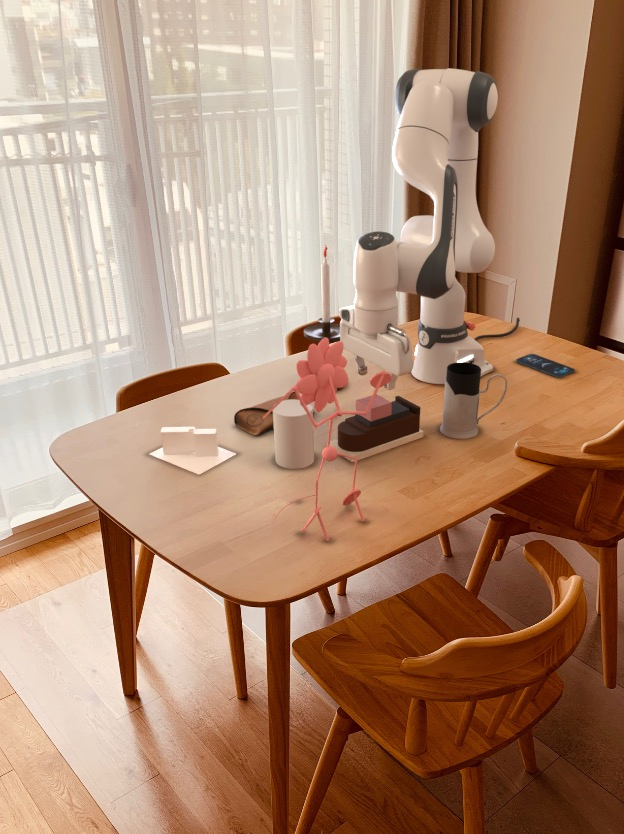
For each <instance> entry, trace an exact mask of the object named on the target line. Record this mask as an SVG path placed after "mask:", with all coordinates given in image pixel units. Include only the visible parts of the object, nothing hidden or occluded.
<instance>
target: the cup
mask: <svg viewBox="0 0 624 834" xmlns="http://www.w3.org/2000/svg"><path fill="white" fill-rule="evenodd" d="M306 406H307V408H308V410H309V412H310V414H311V415H312V417H313V418H314V413H313V412H314V406H313V404H312V403H310V404H308V405H306ZM273 424H274V429H273V440H274V456H275V463H276V464H277V465H278V466H279V467H281V468H284V469H289V470H299V469H304V468H307V467H309V466H311V465H313V463H314V461H315V443H314V442H315V441H314V440H315V437H314V426H313V424H312V422H311V420H310V419H309V417H308V415H307V413H306V411H305V410H304V408H303V406H301V404H300V401H299V400H295V399H292V400H284V401H282V402H281V403H280V404H278V405H277V406H276V407H275V408H274V409H273Z"/></svg>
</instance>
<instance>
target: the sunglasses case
mask: <svg viewBox="0 0 624 834" xmlns="http://www.w3.org/2000/svg"><path fill="white" fill-rule="evenodd" d="M283 396H284V395H281V396H279V397H276V398H272V399H269V400H266V401H264V402H261V403H258V404H255V405H253V406H250V407H244V408H242V409H239V410H238V411H236V412H235V413H234V415H233V421H234V424H235V426H236V428H238V429H240V430H241V431H243V432H244V433H247V434H250V435H252V436H259V435H261V434H263V433H266V432H268V431H270V430H274V424H273V410H272V411H271V412H270V413H269V414H268V415H267V416H266V417H265V418H264V419H263V416H264V415H265V414H266V413H267V412H268V411H269V410H270V409H271V408H272V407H273V406H274V405H275V404H276V403H277V402H278V401H279V400H280V399H281V398H282V397H283ZM292 399H295V400H299V399H298V397H297V395H296V393H295V392H294V391H292V392H291V393H290V394H289V395H288V396H287V397H286V398H285V399H284V400H292ZM284 400H283V401H284ZM313 414H316V411H313Z"/></svg>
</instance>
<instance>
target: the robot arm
mask: <svg viewBox="0 0 624 834" xmlns="http://www.w3.org/2000/svg"><path fill="white" fill-rule="evenodd" d="M498 99H499V96H498V87H497V82H496V80H495V79H494V77H493V76H492V75H491V74H489V73H486V72H483V71H479V70H477V71H471V70H465V69H459V68H449V67H447V68H433V69H431V68H430V69H421V68H414V69H413V68H412V69H408V70H406V71H405V72H403V74H402V75H401V76H400V77H399V78H398V80H397V83H396V86H395V90H394V107H395V110H396V113H397V115H398V117H399V119H398V121H397V126H396V130H395V135H394V138H393V144H392V152H391V158H392V163H393V166H394V168H395V170H396V172H397V173H398V174H399V176H400V177H401V178H402V179H403V181H405V182H407V183H408V184H409V185H410V186H412V187H414V188H416V189H417V190H419V191H421V192H423V193H425V194H426V195H427V196H429V197H430V199H431V200H432V201H433V205H434V209H433V215H427V214H425V215H413V216H412V217H410V218H408V220H407V221H406V222H405V223H404V224H403V227H402V229H401V232H400V241H397V240H396V238H395V236H394V235H393V234H392V233H390V232H386V231H379V230H378V231H371V232H367V233H365V234H363V235H361V236H360V237H359V238H358V239H357V241H356V245H355V249H354V257H353V273H352V274H353V286H354V289H355V296H354V298H353V304H351V305H347V306H344V307H341V308H339V309H338V315H339V318H340V319H341V320H340V322H339V324H340V342H343V345H344V347H343V350H345V351H347V352H349V353H351V354H352V358H353V362H354V364H355V366H356V374H358V375H360V376H366V375H367V374H368V365H366V363H365V361H367V362H369V363H370V364H373V365H375V366H376V367H379V368H380V369H382V370H383V371H386V372H388V373H390V375H391V377H392V378H391V381H390V382H389V383H388V384H386V385H384V386H383V387H384V389H386V390H387V391H392V390H395V388H396V381H397V380H398V378H399V377H403V376H406V375H409V374H411V376H412V377H414V378H415V379H417V380H419V381H422V382H423V383H428V384H433V385H445V377H446V375H447V366H448V365H450V364H452V363H456V362H467V363H472V364H475V365H478V366H479V367H480V368H481V377H483V376H485V375H487V374H489V373H491V372H493V371H494V366H493V364H492V363H490V362H489V361H488V360H486V354H485V353H486V352H485V349H484V347H483V346H482V344H481V343H480V342H478V340H480V339H491V338H492V339H493V338H504V337H507V336H509V335H512V334H513V333H515V331H517V329H518V328H519V325H520V321H521V320H520V317H516V320H515V326H514V327H513V328H512V329H511V330H509V331H507V332H504V333H499V334H498V333H496V334H481V335H478V336H475V337H474V338H473V337H472V336H471V335H470V334H469V333H468V330H469V331H471V332H472V331H475V329H476V327H477V324H476V323H475V322H472V321H470V320H468V321H465V310H466V309H465V308H466V298H467V297H466V296H467V295H466V291H465V289H464V287H463V286H462V284H461V283H460V282H459V281H458V279H457V278H456V272H459V273H464V274H466V273H467V274H468V273H469V274H478V273H482V272H484V271H486V269H488V267H489V266H490V265H491V263H492V262H493V259H494V257H495V254H496V242H495V239H494V237H493V235H492V233H491V232H490V231H489V229H487V227H486V225H485V223H484V221H483V219H482V217H481V214H480V211H479V207H478V201H477V195H476V194H477V193H476V189H477V188H476V185H477V184H476V182H477V167H478V155H479V152H478V151H479V132H480V131H481V129H482V128H485V127H487V125H488V124H490V122H491V121H492V120H493V118H494V116H495V113H496V110H497V107H498V101H499V100H498ZM397 292H398V293H405V294H410V295H417V296H419V297H420V314H419V315H420V316H419V317H420V318H419V320H418V324H417V339H418V340H417V344H416V346H415V351H414V359H413V347H412V342H411V340H410V337H409V336H408V334H407V332H406V331H405V330H404V329H403V328H399V327H398V322H399V321H398V320H399V318H398V317H399V302H398V297H397Z"/></svg>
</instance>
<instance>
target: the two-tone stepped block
mask: <svg viewBox="0 0 624 834" xmlns="http://www.w3.org/2000/svg"><path fill="white" fill-rule="evenodd" d="M371 397H372V395H369V396H364V397H361V398H358V399H356V400H355V411H357V412H365V410H366V408H367V406H368V404H369V401H370V399H371ZM408 414H410V409H409V408H407V407H405V406H403V405H401V404H399V403H398V402H396V401H395V400H393V401H390V400H388V399H386V398H384V397H382V396H381V395H380V394H377V393H376V395H375V398H374V400H373V402H372V404H371V406H370V408H369V410H368V412H366V415H354V416H355V418H356V419H357V420H359V421H361V422H363V423H364V424H366V425H368V426H369V427H372V426H375V425H378V424H381V423H384V422H387V421H390V420H393V419H396V418H399V417H402V416H405V415H408Z"/></svg>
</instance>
